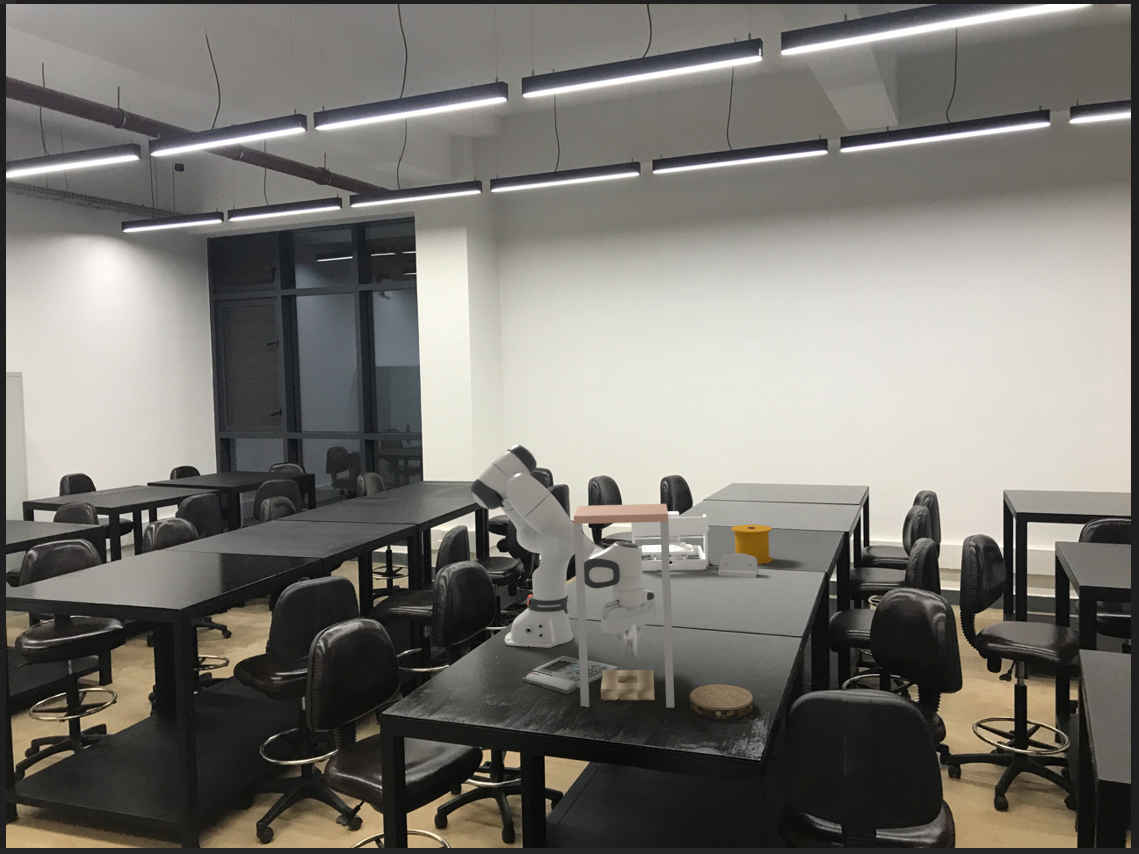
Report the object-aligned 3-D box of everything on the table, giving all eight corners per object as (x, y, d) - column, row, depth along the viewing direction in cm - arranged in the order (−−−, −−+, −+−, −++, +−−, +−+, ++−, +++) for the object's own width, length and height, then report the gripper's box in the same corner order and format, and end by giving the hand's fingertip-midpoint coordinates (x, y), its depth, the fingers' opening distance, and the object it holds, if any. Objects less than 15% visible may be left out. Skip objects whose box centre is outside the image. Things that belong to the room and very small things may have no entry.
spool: (724, 559, 378) (723, 526, 377) (755, 554, 385) (755, 522, 384) (748, 566, 361) (747, 532, 361) (780, 561, 369) (780, 528, 368)
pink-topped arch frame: (581, 707, 211) (573, 516, 209) (585, 683, 228) (578, 505, 225) (674, 707, 209) (668, 513, 206) (671, 683, 226) (666, 503, 223)
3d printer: (706, 554, 390) (702, 502, 388) (713, 569, 358) (708, 512, 357) (633, 559, 393) (629, 507, 391) (633, 574, 361) (628, 518, 360)
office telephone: (567, 688, 220) (513, 673, 233) (567, 697, 220) (513, 682, 233) (617, 662, 238) (565, 650, 251) (618, 671, 238) (565, 658, 251)
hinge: (717, 575, 347) (718, 551, 349) (719, 576, 351) (720, 553, 354) (757, 577, 341) (757, 553, 343) (758, 578, 345) (759, 555, 347)
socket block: (601, 700, 216) (600, 688, 216) (603, 680, 230) (603, 670, 230) (654, 699, 215) (654, 688, 214) (653, 680, 228) (653, 669, 228)
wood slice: (764, 704, 210) (764, 693, 209) (732, 725, 198) (732, 713, 198) (711, 690, 220) (710, 679, 220) (677, 709, 208) (677, 698, 208)
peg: (623, 658, 238) (622, 624, 237) (623, 653, 242) (622, 620, 241) (637, 657, 237) (636, 624, 237) (637, 653, 241) (636, 619, 241)
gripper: (610, 606, 229) (612, 654, 230) (659, 591, 243) (661, 637, 243) (595, 602, 234) (596, 649, 235) (644, 588, 247) (646, 633, 248)
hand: (630, 643), depth 239 cm, fingers closed on peg, 4 cm apart
